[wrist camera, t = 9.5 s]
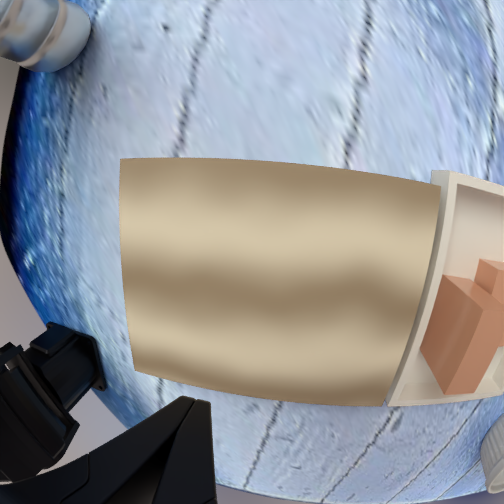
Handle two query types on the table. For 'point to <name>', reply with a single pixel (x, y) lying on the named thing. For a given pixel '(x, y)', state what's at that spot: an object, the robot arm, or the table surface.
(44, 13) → the plastic bottle
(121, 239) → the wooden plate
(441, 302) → the tile
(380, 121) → the table surface
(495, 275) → the tile
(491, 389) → the tray
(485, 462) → the ramekin
